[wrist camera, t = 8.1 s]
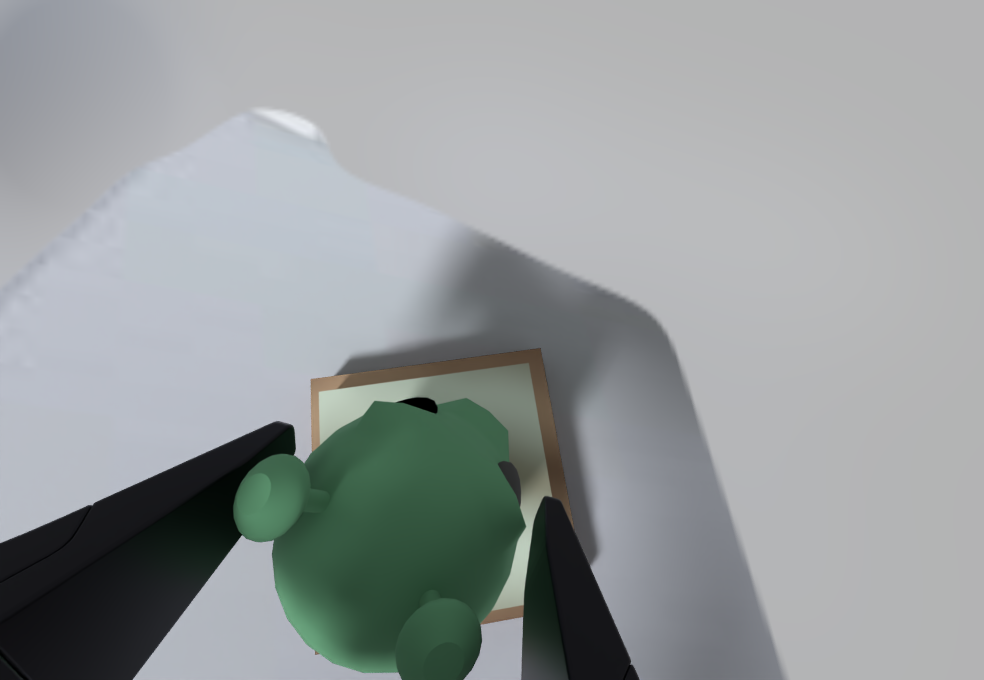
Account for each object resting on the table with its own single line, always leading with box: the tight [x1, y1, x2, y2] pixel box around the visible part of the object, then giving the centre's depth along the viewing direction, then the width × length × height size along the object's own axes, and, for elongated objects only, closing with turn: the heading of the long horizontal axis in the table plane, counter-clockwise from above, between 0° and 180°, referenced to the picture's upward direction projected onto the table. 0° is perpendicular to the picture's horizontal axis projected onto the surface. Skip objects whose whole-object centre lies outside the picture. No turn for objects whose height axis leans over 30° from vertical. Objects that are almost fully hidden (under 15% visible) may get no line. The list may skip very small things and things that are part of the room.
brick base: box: [311, 348, 574, 655], centre depth 18 cm, size 12×12×4 cm
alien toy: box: [233, 397, 526, 680], centre depth 11 cm, size 7×8×10 cm
